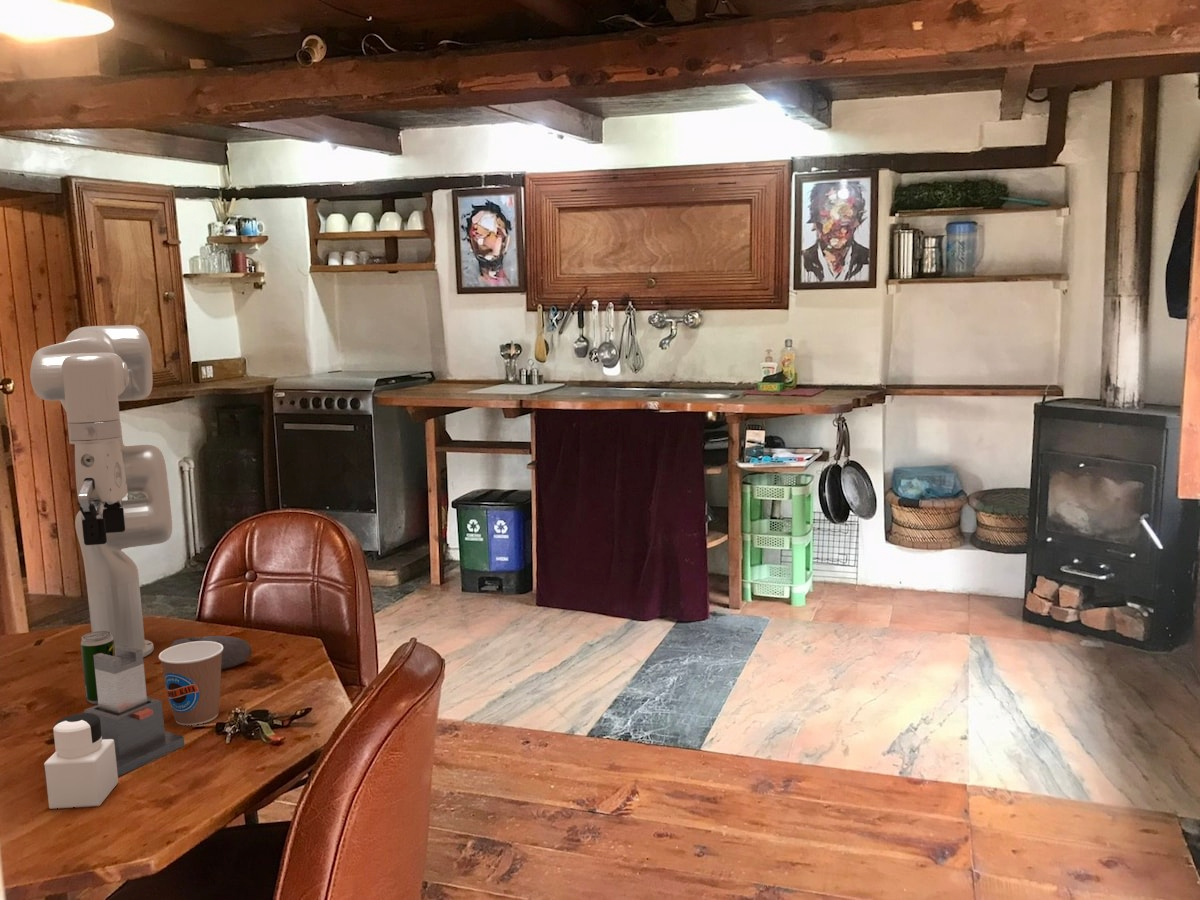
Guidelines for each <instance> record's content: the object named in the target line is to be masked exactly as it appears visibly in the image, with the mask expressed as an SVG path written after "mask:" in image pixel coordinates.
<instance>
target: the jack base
mask: <svg viewBox="0 0 1200 900" xmlns="http://www.w3.org/2000/svg"><path fill="white" fill-rule="evenodd" d="M83 713H91V714H95V715H97V716H98V717H99V718H100V723H101V733H102V740H103V739H113V740H114V744H115V754H116V764H117V774H118V778H119V777H120V776H123V775H125V774H127V773H130V772H131V771H134V770H136V769H138V768H140V767H142V766H144V765H147V764H149V763H150V762H153V761H155V760H157V759H159V758H161V757H164V756H165V755H168V754H170V753H172V752H175V751H176V750H178V749H179V750H180V748H183V747H185V746H186V743H185V736H182V735H179V734H175V733H172V732H169V731H166V730H165V723H164V722H165V721H164V712H163V702H162V700H159V699H156V698H152V697H148V696H147V704H146V705H144V706H141V707H139V708H136V709H134V710H131V711H129V712H126V713H124V714H122V715H119V716H116V715H113V714H110V713H106V712H103V711H100V710H99V705H98V704H94V705H93V706H91V707H88V708H85V709H83Z"/></svg>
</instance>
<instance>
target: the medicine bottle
mask: <svg viewBox="0 0 1200 900" xmlns="http://www.w3.org/2000/svg"><path fill="white" fill-rule="evenodd" d="M52 728H53V729H52V731H53V738H54V747H55V751H54V753H53V754H52V755H50V757H48V758H47V759H46V761H45V762H44V763H43V767H44V775H45V784H46V794H47V795H46V796H47V802H48V808H49V809H51V810H56V809H57V808H58V809H70V808H71V809H73V807H75V808H90V807H99V806H101V805H102V803H103V802H104V801H105V800H106V799H107V797H108V796H109V795H110V794H111V792H112V791H113V789H114V788H115V787H116V786H117V785H118V783H119V777H118V774H117V764H116V754H115V744H114V740H113V739H103V740H102V733H101V723H100V718H99V717H98V716H97V715H95V714H91V713H84V712H80V713H74V714H71V715H68V716H67V715H66V716H65V717H62V718H61V719H59V720H58V721H57V722H55V724H54V725H53V727H52Z"/></svg>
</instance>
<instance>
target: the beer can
mask: <svg viewBox="0 0 1200 900" xmlns="http://www.w3.org/2000/svg"><path fill="white" fill-rule="evenodd" d="M80 652H81V659H82V660H81V661H82V670H83V671H82V672H83V679H84V681H83V682H84V688H85V689H84V690H85V698H86V700H87V702H88V703H89V704H91V703H92V705H98V695H97V686H96V676H95V666H94V657H93V655H96V654H99V653H103V654H107V655H111V656H115V646H114V638H113V636H112V633H111V632H109V631H97V632H92V631H91V632H89V633H85V634H84V635H83V636H81V641H80Z"/></svg>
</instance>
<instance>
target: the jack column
mask: <svg viewBox="0 0 1200 900" xmlns="http://www.w3.org/2000/svg"><path fill="white" fill-rule="evenodd" d="M93 657H94V666H95V676H96V686H97V695H98V704H97V705H99V710H100V711H103V712H106V713H110V714H113V715H116V716H119V715H122V714H124V713H126V712H129V711H131V710H134V709H136V708H139V707H141V706H144V705H146V704H147V697H148V695H147V686H146V676H145V675H146V674H145V663H144V657H143V652H142V650H139V649H135V648H131V647H127V646H123V645H122V646H119V647H116V656H111V655H107V654H103V653H99V654H96V655H93Z"/></svg>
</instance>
